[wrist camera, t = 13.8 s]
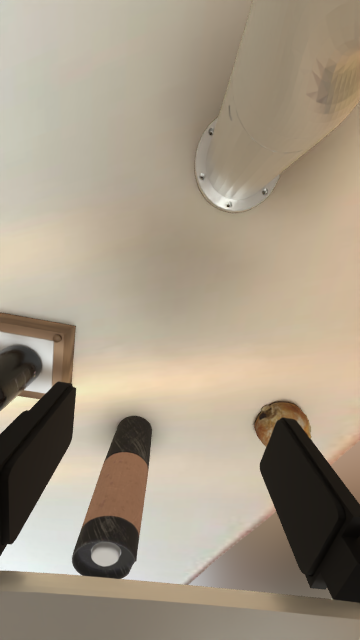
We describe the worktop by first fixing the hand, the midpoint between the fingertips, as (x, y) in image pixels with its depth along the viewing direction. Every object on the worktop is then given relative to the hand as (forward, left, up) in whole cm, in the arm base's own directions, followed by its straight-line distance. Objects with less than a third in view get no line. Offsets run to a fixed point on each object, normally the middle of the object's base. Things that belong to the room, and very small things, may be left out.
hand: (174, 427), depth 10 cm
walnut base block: (+14, -23, -28) cm, 39 cm away
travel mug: (+28, -3, -28) cm, 40 cm away
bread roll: (+20, +26, -29) cm, 44 cm away
